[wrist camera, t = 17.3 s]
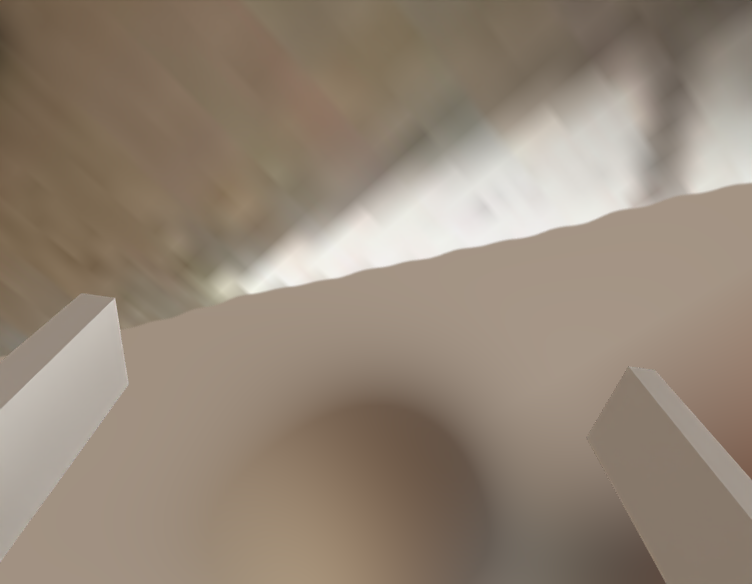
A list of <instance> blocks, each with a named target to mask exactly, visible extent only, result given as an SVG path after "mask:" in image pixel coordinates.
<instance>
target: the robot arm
mask: <svg viewBox="0 0 752 584" xmlns="http://www.w3.org/2000/svg"><path fill="white" fill-rule="evenodd" d="M127 386H128V378H127V371H126V365H125V358H124V352H123V346H122V339H121V333H120V326H119V320H118V314H117V307H116V301H115V298H113V297H106V296H98V295H91V294H83V293H81V294H80V295H79V296H77V297H76V298H75V299H74V300H73V301H72V302H70V303H69V304H68V305H67V306H66V307H64V308H63V309H62V310H61V311H60V312H59V313H57V314H56V315H55V316H54V317H53V318H51V319H50V320H49V321H48V322H47V323H46V324H44V325H43V326H42V327H41V328H40V329H38V330H37V331H36V332H35V333H34V334H33V335H31V336H30V337H29V338H28V339H27V340H25V341H24V342H23V343H22V344H21V345H20V346H18V347H17V348H16V349H15V350H14V351H12V352H11V353H10V354H9V355H8V356H7V357H5V358H4V359H3V360H2V361H1V362H0V562H1V560H2V559H3V557H4V556H5V555H6V554H7V552H8V551H9V549H10V548H11V547H12V545H13V544H14V542H15V541H16V540H17V538H18V537H19V536H20V534H21V533H22V531H23V530H24V529H25V527H26V526H27V524H28V523H29V522H30V520H31V519H32V517H33V516H34V515H35V513H36V512H37V511H38V509H39V508H40V506H41V505H42V504H43V502H44V501H45V499H46V498H47V497H48V495H49V494H50V492H51V491H52V490H53V488H54V487H55V486H56V484H57V483H58V481H59V480H60V479H61V477H62V476H63V475H64V473H65V472H66V470H67V469H68V468H69V466H70V465H71V463H72V462H73V461H74V459H75V458H76V457H77V455H78V454H79V452H80V451H81V450H82V448H83V447H84V445H85V444H86V443H87V441H88V440H89V439H90V437H91V436H92V434H93V433H94V432H95V430H96V429H97V428H98V426H99V425H100V423H101V422H102V421H103V419H104V418H105V416H106V415H107V414H108V412H109V411H110V409H111V408H112V407H113V405H114V404H115V402H116V401H117V400H118V398H119V397H120V396H121V394H122V393H123V391H124V390H125V389H126V387H127ZM587 440H588V442H589V444H590V446H591V447H592V449H593V451H594V453H595V455H596V457H597V459H598V460H599V462H600V464H601V466H602V468H603V469H604V471H605V473H606V475H607V477H608V479H609V480H610V482H611V484H612V486H613V488H614V489H615V491H616V493H617V495H618V496H619V498H620V500H621V502H622V504H623V506H624V507H625V509H626V511H627V513H628V515H629V517H630V519H631V520H632V522H633V524H634V526H635V528H636V529H637V531H638V533H639V535H640V537H641V539H642V540H643V542H644V544H645V546H646V548H647V550H648V551H649V553H650V555H651V557H652V559H653V560H654V562H655V564H656V566H657V568H658V569H659V571H660V573H661V575H662V577H663V579H664V580H665V582H666V584H752V480H751V479H750V478H749V476H748V475H747V474H746V473H745V472H744V471H743V470H742V468H741V467H740V466H739V465H738V464H737V463H736V462H735V461H734V459H733V458H732V457H731V456H730V455H729V454H728V453H727V451H726V450H725V449H724V448H723V447H722V446H721V445H720V443H719V442H718V441H717V440H716V439H715V438H714V437H713V436H712V434H711V433H710V432H709V431H708V430H707V429H706V428H705V426H704V425H703V424H702V423H701V422H700V421H699V420H698V418H697V417H696V416H695V415H694V414H693V413H692V412H691V410H690V409H689V408H688V407H687V406H686V405H685V404H684V402H683V401H682V400H681V399H680V398H679V397H678V396H677V394H675V392H674V391H673V390H672V389H671V388H670V386H668V385H667V383H666V382H665V381H664V380H663V379H662V377H661V376H660V375H659V374H658V373H657V372H656V371H655V370H651V369H644V368H636V367H628V368H627V370H626V371H625V373H624V375H623V376H622V378H621V380H620V382H619V383H618V385H617V386H616V388H615V390H614V392H613V393H612V395H611V397H610V398H609V400H608V402H607V404H606V405H605V407H604V408H603V410H602V412H601V414H600V415H599V417H598V419H597V420H596V422H595V424H594V426H593V427H592V429H591V430H590V432H589V434H588V436H587Z"/></svg>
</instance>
